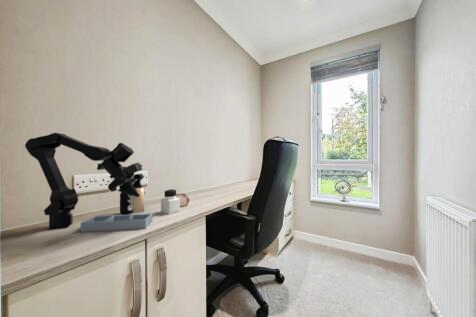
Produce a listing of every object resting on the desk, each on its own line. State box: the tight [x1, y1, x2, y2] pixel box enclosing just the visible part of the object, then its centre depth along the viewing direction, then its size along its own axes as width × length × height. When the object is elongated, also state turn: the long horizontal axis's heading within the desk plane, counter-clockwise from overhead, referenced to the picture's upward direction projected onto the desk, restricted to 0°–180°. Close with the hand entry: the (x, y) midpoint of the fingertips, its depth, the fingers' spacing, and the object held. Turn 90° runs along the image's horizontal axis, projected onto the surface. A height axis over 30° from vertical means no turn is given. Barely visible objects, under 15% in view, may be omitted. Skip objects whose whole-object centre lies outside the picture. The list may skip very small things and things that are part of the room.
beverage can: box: [119, 192, 133, 215], centre depth 100 cm, size 7×7×12 cm
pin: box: [132, 187, 145, 214], centre depth 81 cm, size 4×4×10 cm
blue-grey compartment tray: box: [80, 213, 154, 233], centre depth 80 cm, size 25×9×4 cm, turn 97°
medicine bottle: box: [160, 189, 181, 215], centre depth 102 cm, size 7×7×12 cm
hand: (141, 195), depth 81 cm, fingers closed on pin, 4 cm apart
